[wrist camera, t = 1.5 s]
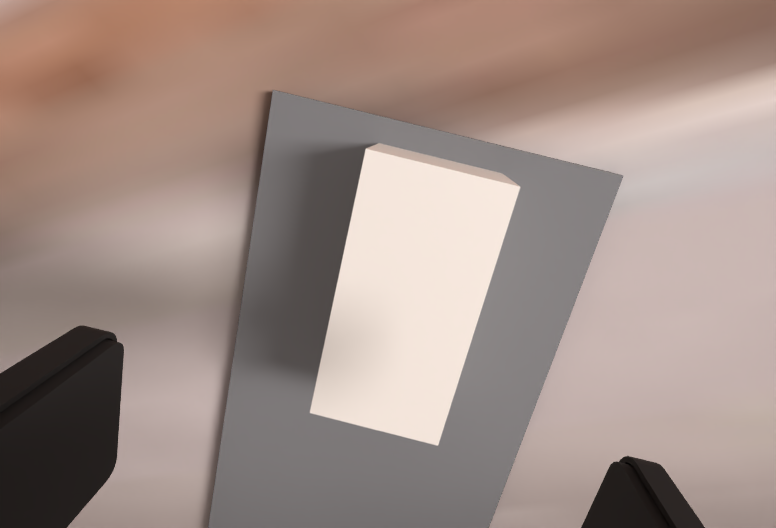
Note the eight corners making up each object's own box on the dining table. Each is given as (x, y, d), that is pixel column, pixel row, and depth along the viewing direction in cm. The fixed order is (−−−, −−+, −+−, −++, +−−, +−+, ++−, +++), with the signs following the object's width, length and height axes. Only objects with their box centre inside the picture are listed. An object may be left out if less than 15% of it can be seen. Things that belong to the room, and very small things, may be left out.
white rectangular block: (502, 173, 19) (520, 186, 15) (436, 388, 22) (438, 445, 18) (379, 143, 19) (365, 148, 15) (330, 361, 22) (309, 413, 18)
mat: (617, 174, 19) (623, 175, 18) (445, 628, 27) (446, 639, 26) (277, 90, 19) (273, 89, 18) (206, 565, 27) (201, 575, 26)
